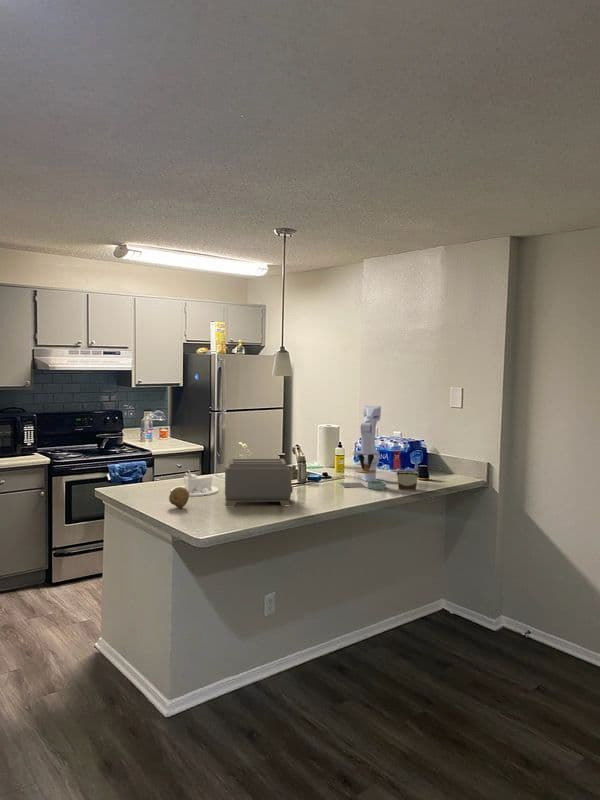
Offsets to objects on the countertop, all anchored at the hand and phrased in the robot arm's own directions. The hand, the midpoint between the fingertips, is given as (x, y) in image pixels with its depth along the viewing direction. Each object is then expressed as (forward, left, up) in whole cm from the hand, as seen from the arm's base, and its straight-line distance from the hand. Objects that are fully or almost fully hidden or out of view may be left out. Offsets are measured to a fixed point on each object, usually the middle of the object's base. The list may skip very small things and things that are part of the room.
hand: (365, 468), depth 349 cm
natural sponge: (+42, -101, -11) cm, 110 cm away
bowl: (+3, +6, -10) cm, 12 cm away
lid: (0, 0, -2) cm, 2 cm away
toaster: (+33, -62, -11) cm, 71 cm away
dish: (+5, -94, -11) cm, 95 cm away
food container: (+7, +22, -11) cm, 25 cm away
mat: (-4, -6, -10) cm, 13 cm away
